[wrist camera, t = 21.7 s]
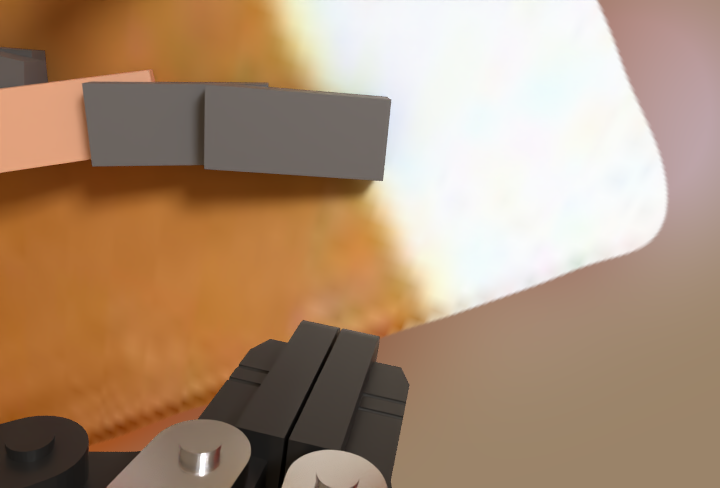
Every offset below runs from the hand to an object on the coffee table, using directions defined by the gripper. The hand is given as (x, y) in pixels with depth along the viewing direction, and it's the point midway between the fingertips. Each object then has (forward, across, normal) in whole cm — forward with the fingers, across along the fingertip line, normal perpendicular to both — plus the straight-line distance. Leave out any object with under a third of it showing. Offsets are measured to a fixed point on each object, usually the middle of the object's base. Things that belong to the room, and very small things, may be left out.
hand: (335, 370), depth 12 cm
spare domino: (+28, +18, 0) cm, 33 cm away
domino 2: (+28, +11, 0) cm, 30 cm away
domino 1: (+28, +3, 0) cm, 28 cm away
